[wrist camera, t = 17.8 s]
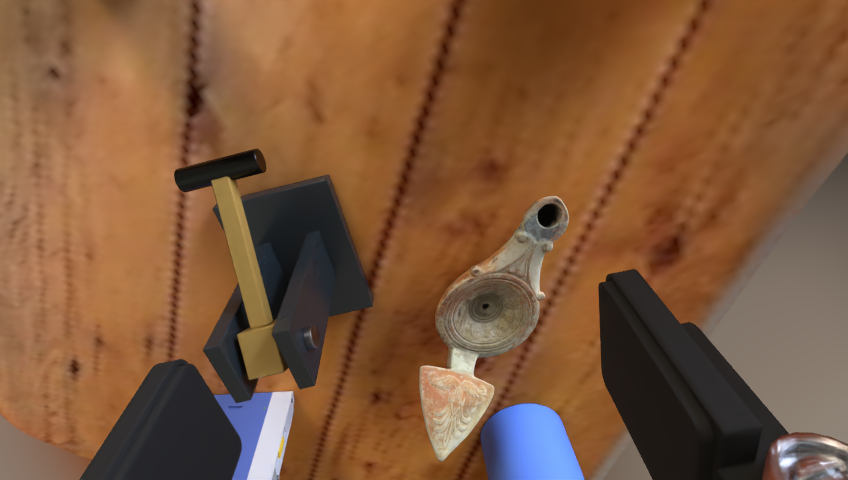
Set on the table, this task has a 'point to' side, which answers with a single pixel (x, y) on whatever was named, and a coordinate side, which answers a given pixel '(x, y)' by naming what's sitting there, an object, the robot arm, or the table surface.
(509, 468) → the water bottle
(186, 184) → the switch lever
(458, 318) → the oil lamp
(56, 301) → the table surface
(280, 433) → the walkman
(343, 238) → the switch base
